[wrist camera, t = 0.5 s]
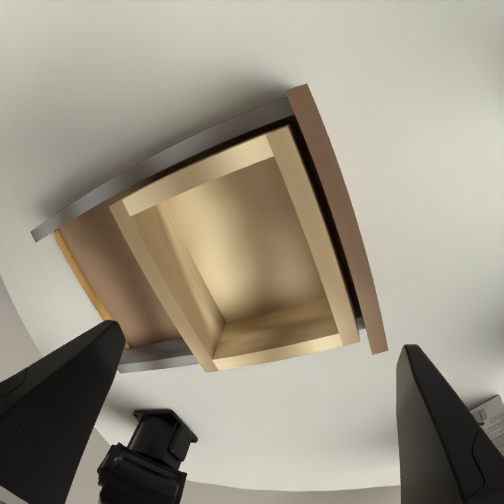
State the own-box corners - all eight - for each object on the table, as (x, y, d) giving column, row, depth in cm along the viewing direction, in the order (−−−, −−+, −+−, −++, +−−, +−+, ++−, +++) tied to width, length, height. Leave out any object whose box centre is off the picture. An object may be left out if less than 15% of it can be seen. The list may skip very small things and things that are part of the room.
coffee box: (501, 424, 28) (527, 518, 13) (461, 444, 30) (479, 542, 16) (499, 392, 25) (537, 506, 11) (453, 417, 27) (477, 535, 13)
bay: (135, 350, 29) (109, 392, 24) (55, 215, 24) (9, 243, 19) (373, 295, 22) (388, 350, 17) (306, 91, 17) (306, 83, 12)
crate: (223, 326, 24) (205, 372, 20) (149, 183, 20) (108, 206, 16) (351, 294, 21) (360, 341, 17) (291, 122, 17) (287, 126, 13)
